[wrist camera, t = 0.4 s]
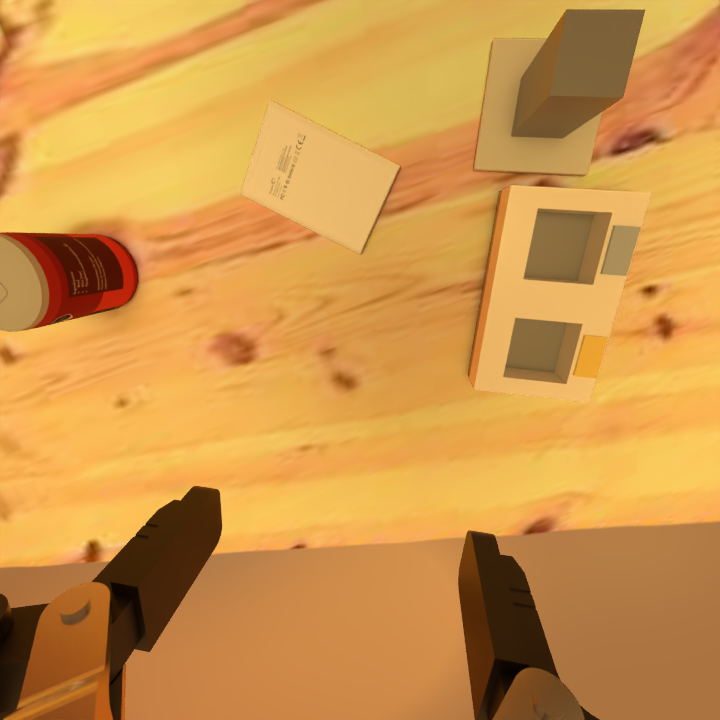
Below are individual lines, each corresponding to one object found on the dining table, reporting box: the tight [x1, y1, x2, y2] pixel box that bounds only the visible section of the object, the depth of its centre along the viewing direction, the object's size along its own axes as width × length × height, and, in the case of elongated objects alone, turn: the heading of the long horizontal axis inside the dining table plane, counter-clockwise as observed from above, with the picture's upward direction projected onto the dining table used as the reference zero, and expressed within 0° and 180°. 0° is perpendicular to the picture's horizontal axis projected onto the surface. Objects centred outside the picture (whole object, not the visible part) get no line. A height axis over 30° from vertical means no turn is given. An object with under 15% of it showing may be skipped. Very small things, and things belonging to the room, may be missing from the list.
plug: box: [511, 10, 645, 139], centre depth 25 cm, size 4×4×9 cm
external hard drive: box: [241, 101, 401, 254], centre depth 33 cm, size 2×8×12 cm
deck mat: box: [473, 38, 602, 176], centre depth 29 cm, size 9×9×1 cm
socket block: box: [468, 185, 651, 403], centre depth 32 cm, size 17×10×4 cm, turn 176°
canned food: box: [0, 232, 137, 332], centre depth 34 cm, size 8×8×11 cm
